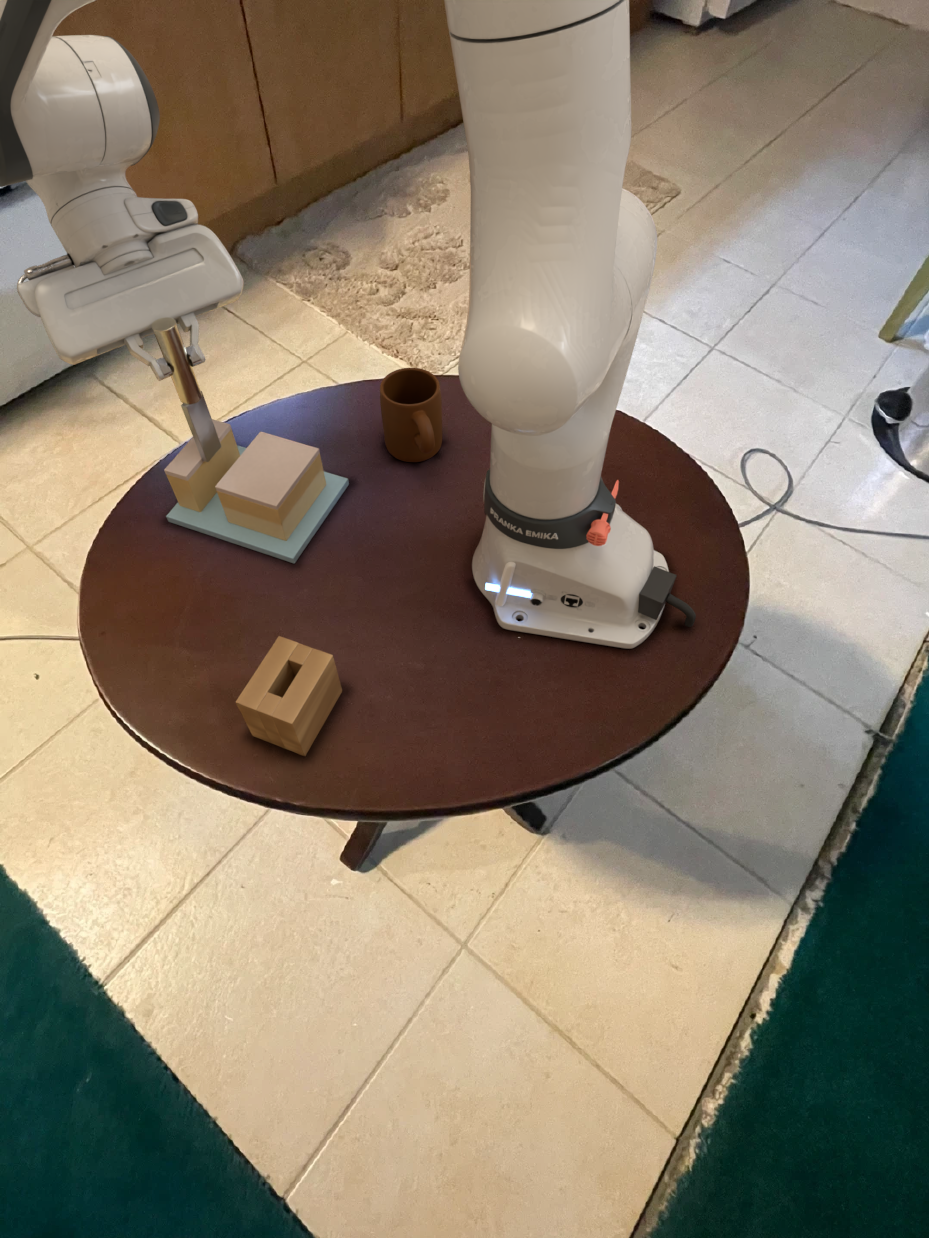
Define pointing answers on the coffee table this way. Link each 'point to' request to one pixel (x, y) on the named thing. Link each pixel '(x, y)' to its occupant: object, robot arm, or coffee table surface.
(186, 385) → the knife
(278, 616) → the coffee table surface
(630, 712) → the coffee table surface
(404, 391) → the mug
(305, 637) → the coffee table surface
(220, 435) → the cake slice
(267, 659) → the knife block
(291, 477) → the cake
